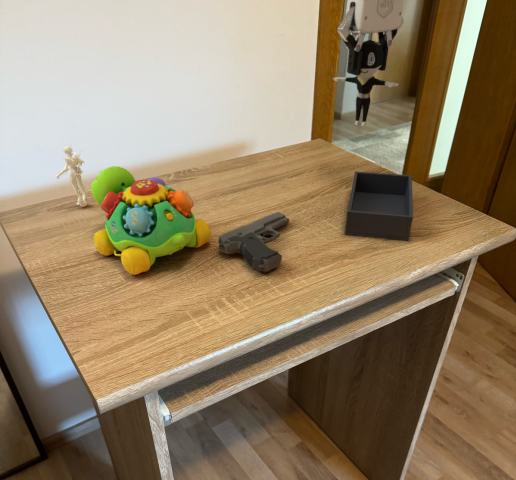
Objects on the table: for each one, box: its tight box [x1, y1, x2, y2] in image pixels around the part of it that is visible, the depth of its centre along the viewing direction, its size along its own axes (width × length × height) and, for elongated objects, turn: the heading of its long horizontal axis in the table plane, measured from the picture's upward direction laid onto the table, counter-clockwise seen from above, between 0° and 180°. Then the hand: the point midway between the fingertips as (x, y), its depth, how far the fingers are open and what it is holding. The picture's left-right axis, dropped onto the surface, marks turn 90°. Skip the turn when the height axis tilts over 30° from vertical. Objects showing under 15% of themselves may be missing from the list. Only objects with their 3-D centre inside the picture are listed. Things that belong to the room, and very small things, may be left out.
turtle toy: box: [90, 165, 212, 276], centre depth 83 cm, size 17×23×12 cm
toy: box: [332, 39, 400, 127], centre depth 96 cm, size 13×6×15 cm, turn 62°
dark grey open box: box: [344, 170, 414, 241], centre depth 92 cm, size 11×18×4 cm, turn 167°
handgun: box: [218, 211, 290, 273], centre depth 84 cm, size 3×16×12 cm
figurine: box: [55, 145, 89, 208], centre depth 94 cm, size 5×6×12 cm
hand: (366, 70), depth 94 cm, fingers closed on toy, 5 cm apart
